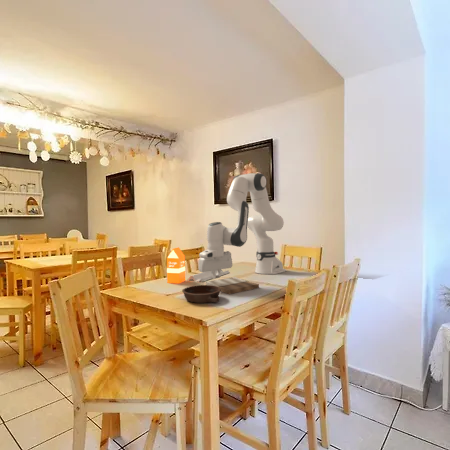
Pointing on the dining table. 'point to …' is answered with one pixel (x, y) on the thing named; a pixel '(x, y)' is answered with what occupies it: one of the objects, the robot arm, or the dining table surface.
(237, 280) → the grey striped panel
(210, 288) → the dish
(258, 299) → the dining table surface
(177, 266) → the orange juice
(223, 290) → the walnut floorboard
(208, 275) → the crown molding
